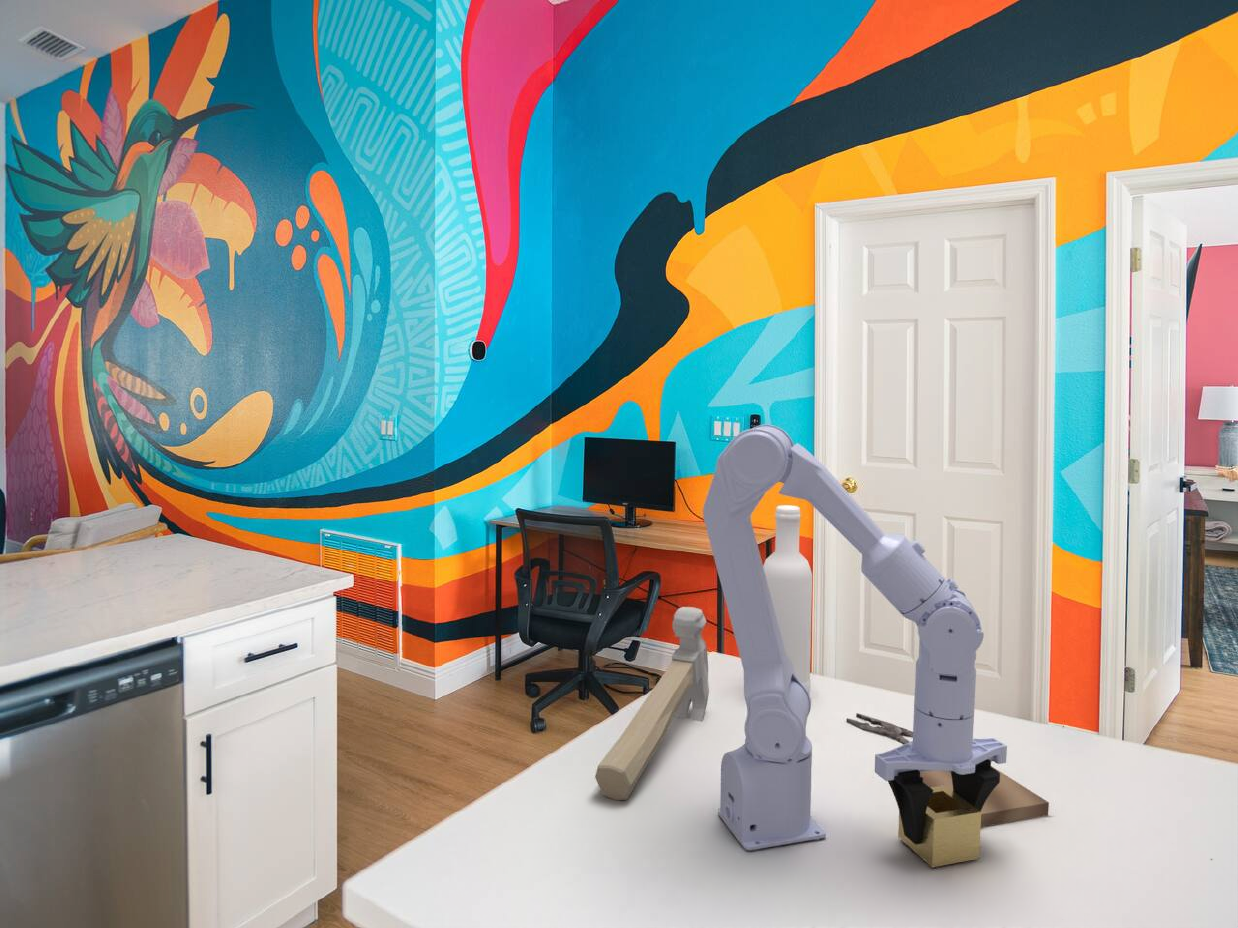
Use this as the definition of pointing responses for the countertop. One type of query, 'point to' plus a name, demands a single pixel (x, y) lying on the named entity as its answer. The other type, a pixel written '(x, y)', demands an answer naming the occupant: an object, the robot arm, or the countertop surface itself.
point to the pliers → (882, 728)
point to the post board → (998, 799)
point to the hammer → (660, 708)
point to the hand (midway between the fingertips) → (938, 834)
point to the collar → (947, 829)
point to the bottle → (791, 591)
